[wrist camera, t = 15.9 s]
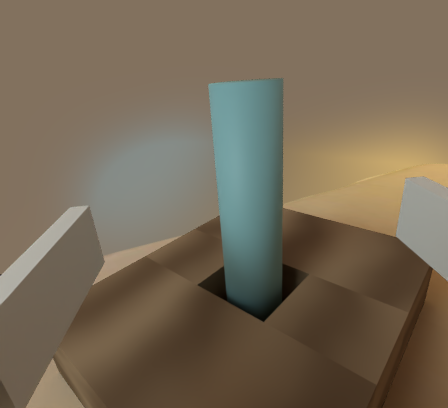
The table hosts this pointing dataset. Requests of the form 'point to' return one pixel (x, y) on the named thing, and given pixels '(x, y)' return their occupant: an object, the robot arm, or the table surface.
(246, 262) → the teal dowel
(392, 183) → the table surface
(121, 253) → the table surface
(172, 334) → the walnut hole block
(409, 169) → the table surface
